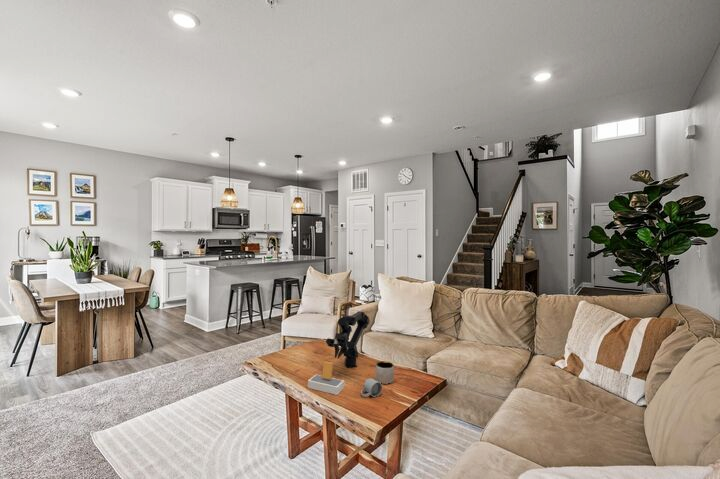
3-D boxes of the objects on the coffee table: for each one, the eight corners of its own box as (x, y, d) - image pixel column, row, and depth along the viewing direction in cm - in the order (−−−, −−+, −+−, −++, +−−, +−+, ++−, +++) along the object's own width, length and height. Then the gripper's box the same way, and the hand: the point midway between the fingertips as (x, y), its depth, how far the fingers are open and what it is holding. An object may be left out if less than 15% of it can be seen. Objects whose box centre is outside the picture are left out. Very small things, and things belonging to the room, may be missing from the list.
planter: (378, 385, 189) (379, 369, 188) (372, 377, 199) (373, 361, 199) (396, 384, 192) (396, 367, 191) (389, 376, 202) (390, 360, 202)
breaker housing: (315, 381, 191) (316, 373, 191) (344, 387, 184) (344, 380, 184) (307, 387, 182) (308, 380, 182) (337, 394, 176) (337, 386, 176)
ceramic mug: (373, 388, 184) (373, 375, 184) (382, 395, 178) (382, 380, 177) (357, 393, 178) (357, 379, 178) (366, 400, 172) (366, 385, 171)
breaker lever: (323, 377, 185) (325, 361, 186) (331, 378, 183) (333, 363, 185) (321, 377, 183) (323, 361, 185) (329, 379, 182) (331, 363, 183)
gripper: (327, 325, 203) (318, 348, 193) (355, 329, 196) (347, 354, 186) (333, 334, 210) (324, 357, 200) (360, 339, 203) (352, 363, 193)
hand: (336, 357), depth 195 cm, fingers closed
